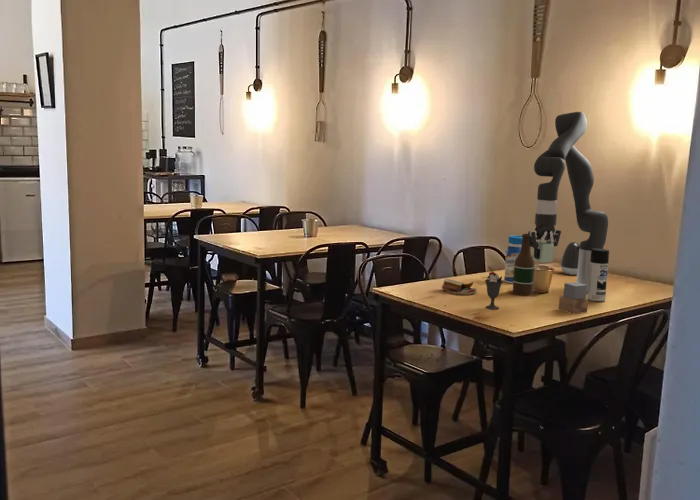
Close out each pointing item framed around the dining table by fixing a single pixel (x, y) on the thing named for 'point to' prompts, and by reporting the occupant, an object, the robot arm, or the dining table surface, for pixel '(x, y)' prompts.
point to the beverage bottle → (512, 257)
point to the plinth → (573, 305)
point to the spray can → (598, 274)
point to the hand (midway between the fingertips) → (542, 258)
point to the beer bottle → (524, 269)
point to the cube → (575, 290)
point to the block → (545, 252)
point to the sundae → (493, 288)
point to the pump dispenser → (570, 259)
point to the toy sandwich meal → (458, 287)
